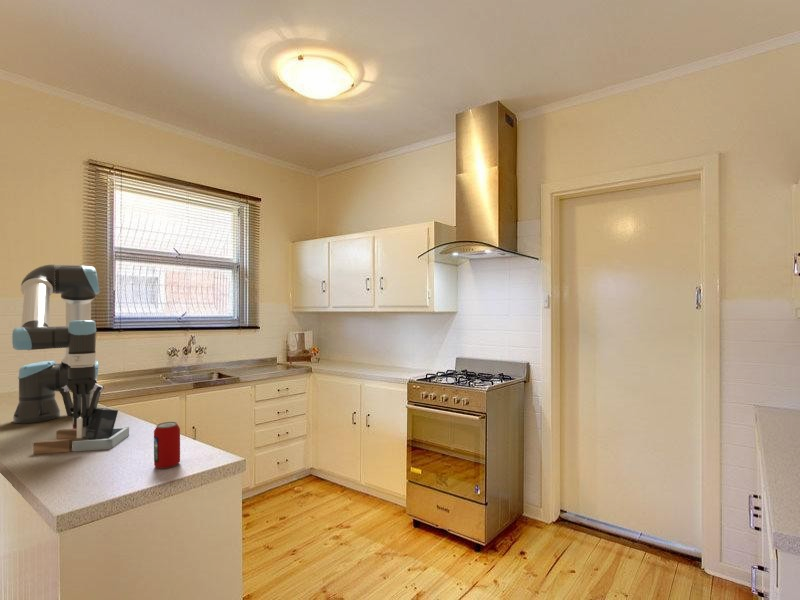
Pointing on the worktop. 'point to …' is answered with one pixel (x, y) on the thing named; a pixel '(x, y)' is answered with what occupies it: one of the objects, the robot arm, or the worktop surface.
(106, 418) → the box
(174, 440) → the beverage can
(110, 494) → the worktop surface
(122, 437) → the bay
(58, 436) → the brown bar
